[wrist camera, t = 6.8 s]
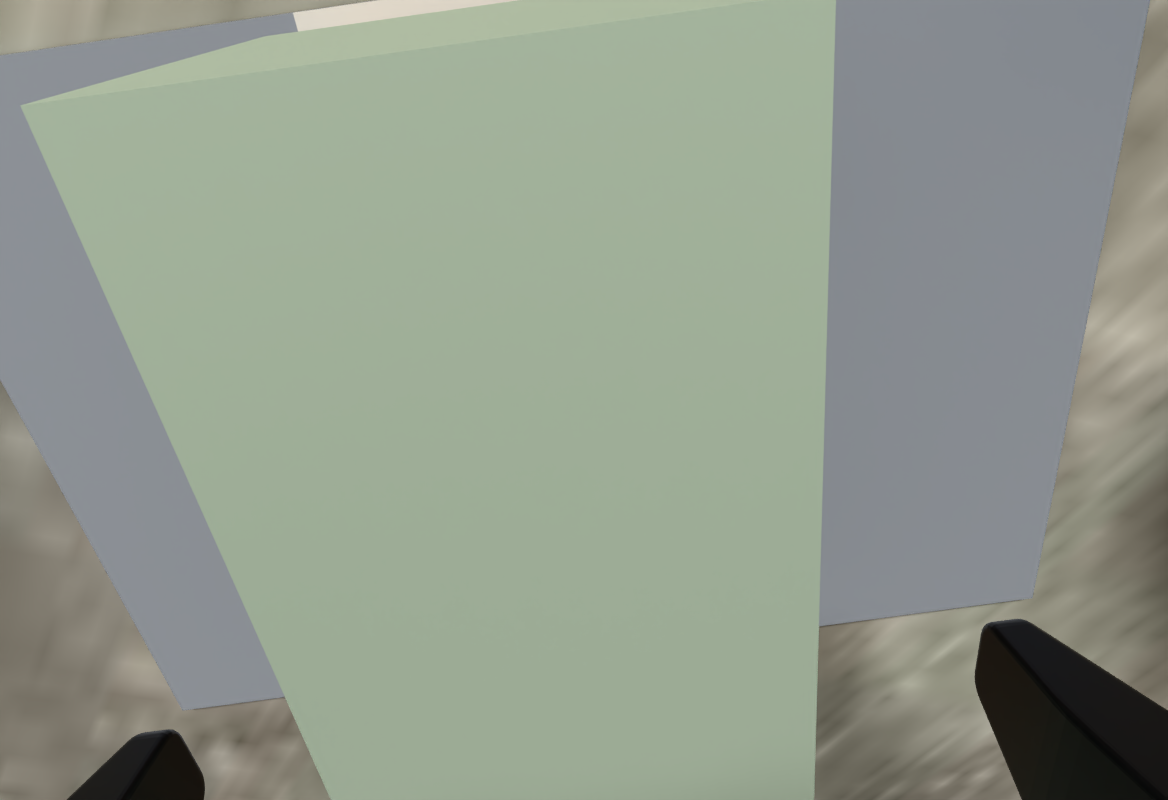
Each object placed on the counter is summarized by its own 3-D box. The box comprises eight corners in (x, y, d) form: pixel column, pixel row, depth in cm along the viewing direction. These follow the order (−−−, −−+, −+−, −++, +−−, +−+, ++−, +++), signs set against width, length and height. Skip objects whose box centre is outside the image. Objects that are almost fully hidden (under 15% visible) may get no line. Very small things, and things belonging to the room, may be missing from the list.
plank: (693, -26, 7) (836, -11, 4) (738, 862, 14) (804, 1159, 11) (264, 36, 7) (21, 105, 4) (514, 890, 14) (507, 1195, 11)
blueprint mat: (1159, -115, 12) (1178, -118, 12) (1025, 588, 19) (1034, 601, 18) (-150, 77, 12) (-170, 80, 12) (187, 699, 19) (181, 714, 19)
